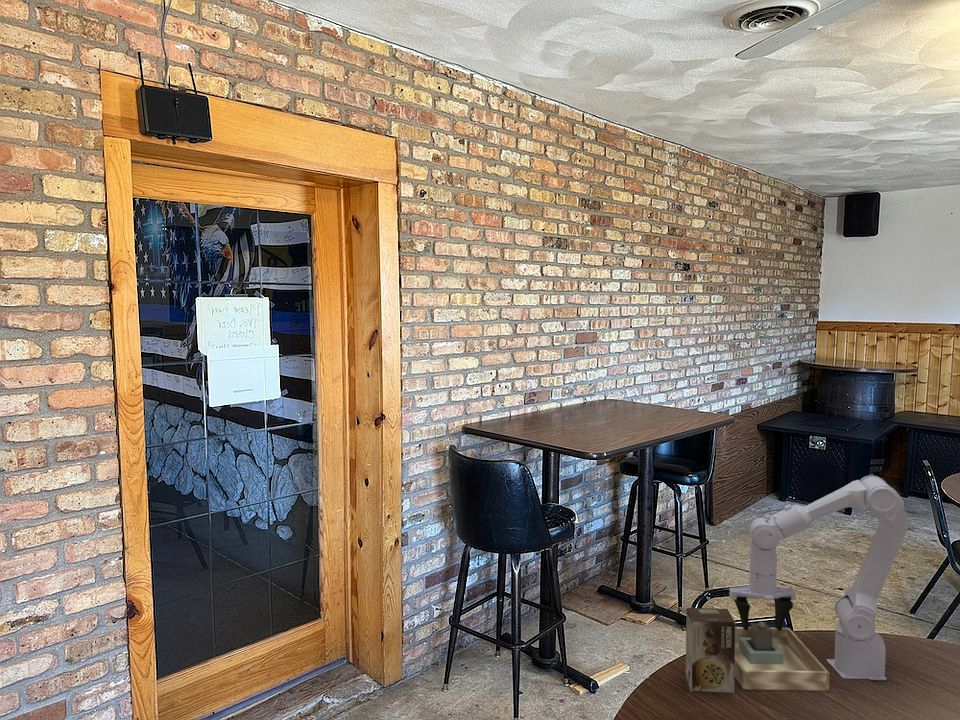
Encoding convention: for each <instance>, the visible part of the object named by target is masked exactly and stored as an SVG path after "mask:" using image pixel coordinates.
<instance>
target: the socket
mask: <svg viewBox="0 0 960 720" xmlns="http://www.w3.org/2000/svg"><path fill="white" fill-rule="evenodd" d="M750 644H751V637H739V648H740V650H741V651H742V653H743V654H744V656H745V657H746V658H747V660H748V661H749V663H750V664H783V655H784V654H783V652H782V651H781V650H780V649H779V648H778V646H777V645H776V644H775V643H774V641H773V640H772V651H754V650H753V649H752V647H751V646H750Z"/></svg>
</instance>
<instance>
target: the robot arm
mask: <svg viewBox="0 0 960 720" xmlns="http://www.w3.org/2000/svg"><path fill="white" fill-rule="evenodd" d="M904 505H905V501H904V500H903V498H902V497H901V496H900V495H899V493H898V492H897V491H896V489H894V488H893V487H891V486H890V485H889V484H888V483H887V482H886V481H885V480H884V478H881V477H879V476H877V475H866V476H863V477H862V478H861V479H856V480H852V481H851V482H850V483H848V484H845V485H844V486H843V487H840V488H839V489H837V490H835V491H833V492H831V493H828V494H827V495H824V496H823V497H821V498H819V499H817V500H814V501H813V502H811V503H809V504H807V505H799V504H793V505H791V504H787V505H785V506H784V508H785V509H782V510H780V511H778V512H776V513H773V514H771V515H770V514H766V515H765V517H764V518H763V517H760V518H756V519H754V520H753V521H752V522H751V524H749V525H750V526H748V531H749V534H750V537H751V541H750V550H749V585H745V586H739V587H731V588H729V593H728V594H729V598H730V599H731V600H733V601H734V604H735V606H736V608H737V610H738V613H739V617H740V623H741V627H743V628H744V630H748V627H749V614H750V610H751V605H750V604H749V600H747V599H763V600H764V601H774V610H775V611H774V628H777V629H778V630H779V631H781V630H782V628H784V627H783V626H784V623H785V620H786V618H787V616H788V615H789V613H790V611H791V610H792V609H793V607H794V603H793V602H792V601H796V600H797V591H796V590H794V589H793V588H786V587H778V586H777V565H778V563H777V562H778V560H777V559H778V555H777V554H778V553H777V548H778V546H779V544H780V541H781V540H785V539H788V538H790V537H792V536H795V535H797V534H799V533H801V532H803V531H805V530H808V529H810V528H811V526H812V523H813V522H814V521H815V520H817V519H820V518H822V517H825V516H828V515H831V514H833V513H835V512H838V511H841V510H844V509H847V508H852V509H857V510H859V511H866V509H867V508H866V506H867V507H868V508H869V509H870V510H871V512H872V513H873V515H874V517H875V518H876V520H877V522H878V525H877V527H876V529H875V532H874V534H873V536H872V539H871V541H870V544H869V547H868V549H867V551H866V554H865V555H864V558H863V560H862V563H861V565H860V567H859V570H858V572H857V574H856V576H855V579H854V581H853V584H852V585H851V586H849V587H847V589H846V590H845V592H844V594H843V595H842V596H841V597H839V598H838V599H837V600H836V602H835V603H834V612H835V614H836V615H837V617H838V618H839V621H838V623H837V624H836V625H835V637H834V638H835V639H834V640H835V642H834V658H827V659H826V661H827V662H828V663H829V664H830V666H832V668H833V669H834V670H835V671H836V672H837V673H838V674H839V675H840V677H841V678H844V679H862V680H863V679H864V680H865V679H866V680H867V679H869V681H887V677H886V674H885V672H886V654H887V653H886V651H887V650H886V645H885V642H884V639H883V638H882V636H881V635H880V634H879V633H878V632H876V617H877V614H878V598H879V596H880V594H881V591H882V589H883V587H884V584H885V583H886V582H885V581H886V580H887V578H888V575H889V574H890V573H889V572H890V571H891V569H892V567H893V565H894V562H895V560H896V557H897V555H898V552H899V550H900V547H901V545H902V544H903V541H904V538H905V537H906V534H907V532H908V529H909V523H908V518H907V513H906V510H905V507H904Z"/></svg>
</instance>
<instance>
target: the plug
mask: <svg viewBox="0 0 960 720" xmlns="http://www.w3.org/2000/svg"><path fill="white" fill-rule="evenodd" d="M750 627H751V644H750V646H751V647H752V649H753V650H754V651H772V637H773V631H772V630H771V628H772V627H770V626H769V625H768V623H766V622H764V621H758V623H750Z"/></svg>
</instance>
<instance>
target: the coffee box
mask: <svg viewBox="0 0 960 720" xmlns="http://www.w3.org/2000/svg"><path fill="white" fill-rule="evenodd" d="M685 611H686V615H685V616H686V620H685V621H686V622H685V623H686V624H685V626H686V627H685V678H686V681H687V684H688V688H689V690H690V693H694V692H693V691H695V692H710V693H711V692H712V693H730V694H732V693H733V694H734V693H735V684H736V683H735V679H736V678H735V627H736V621H735V619H734V617H733V616H732V614H731V612H730V611H729V609H728V608H712V607H711V608H706V607H705V608H704V607H686V610H685Z"/></svg>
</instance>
